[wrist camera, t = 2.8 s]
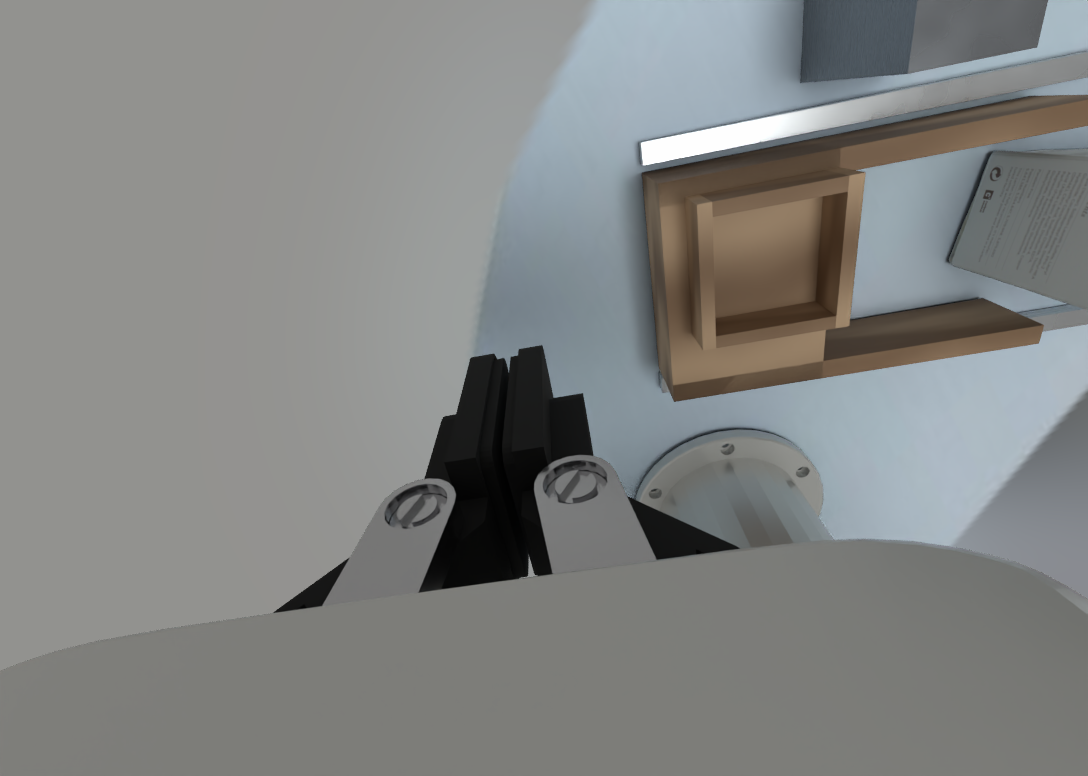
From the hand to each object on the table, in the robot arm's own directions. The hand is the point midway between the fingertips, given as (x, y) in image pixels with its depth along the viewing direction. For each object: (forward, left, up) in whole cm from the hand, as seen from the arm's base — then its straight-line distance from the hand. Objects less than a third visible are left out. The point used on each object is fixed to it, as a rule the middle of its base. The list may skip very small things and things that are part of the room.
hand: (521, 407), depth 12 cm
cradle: (-3, -16, -17) cm, 23 cm away
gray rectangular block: (+7, -16, -17) cm, 24 cm away
